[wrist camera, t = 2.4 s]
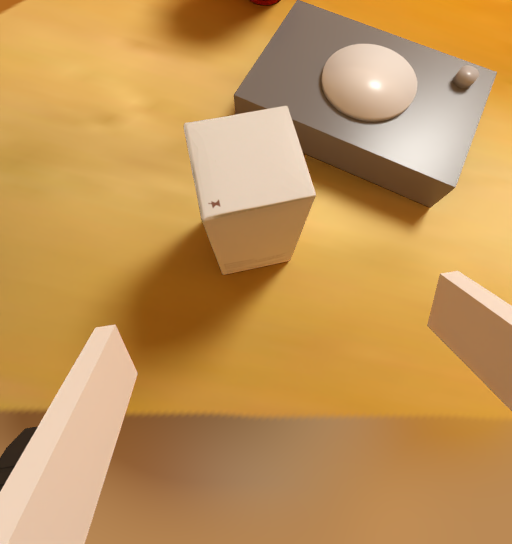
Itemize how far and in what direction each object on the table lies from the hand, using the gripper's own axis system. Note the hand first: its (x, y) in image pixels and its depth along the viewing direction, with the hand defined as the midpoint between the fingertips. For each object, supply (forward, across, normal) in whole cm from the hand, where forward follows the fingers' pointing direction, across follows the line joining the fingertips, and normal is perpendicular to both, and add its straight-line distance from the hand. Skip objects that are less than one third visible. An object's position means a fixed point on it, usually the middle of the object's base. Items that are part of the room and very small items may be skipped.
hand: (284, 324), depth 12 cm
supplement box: (+19, 0, -4) cm, 19 cm away
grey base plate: (+28, +15, +6) cm, 33 cm away
